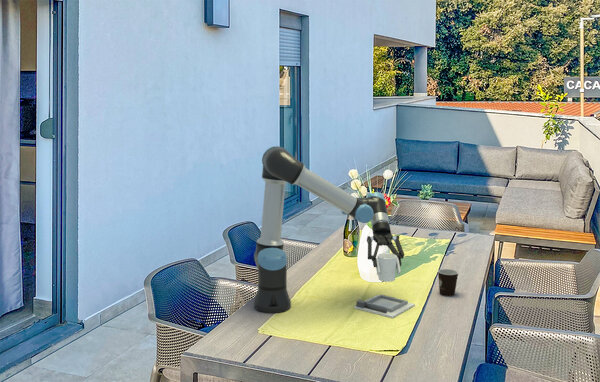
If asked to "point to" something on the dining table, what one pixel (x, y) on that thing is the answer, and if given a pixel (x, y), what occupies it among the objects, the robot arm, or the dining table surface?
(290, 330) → the dining table surface
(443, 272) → the coffee mug
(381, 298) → the dock
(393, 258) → the white cup
